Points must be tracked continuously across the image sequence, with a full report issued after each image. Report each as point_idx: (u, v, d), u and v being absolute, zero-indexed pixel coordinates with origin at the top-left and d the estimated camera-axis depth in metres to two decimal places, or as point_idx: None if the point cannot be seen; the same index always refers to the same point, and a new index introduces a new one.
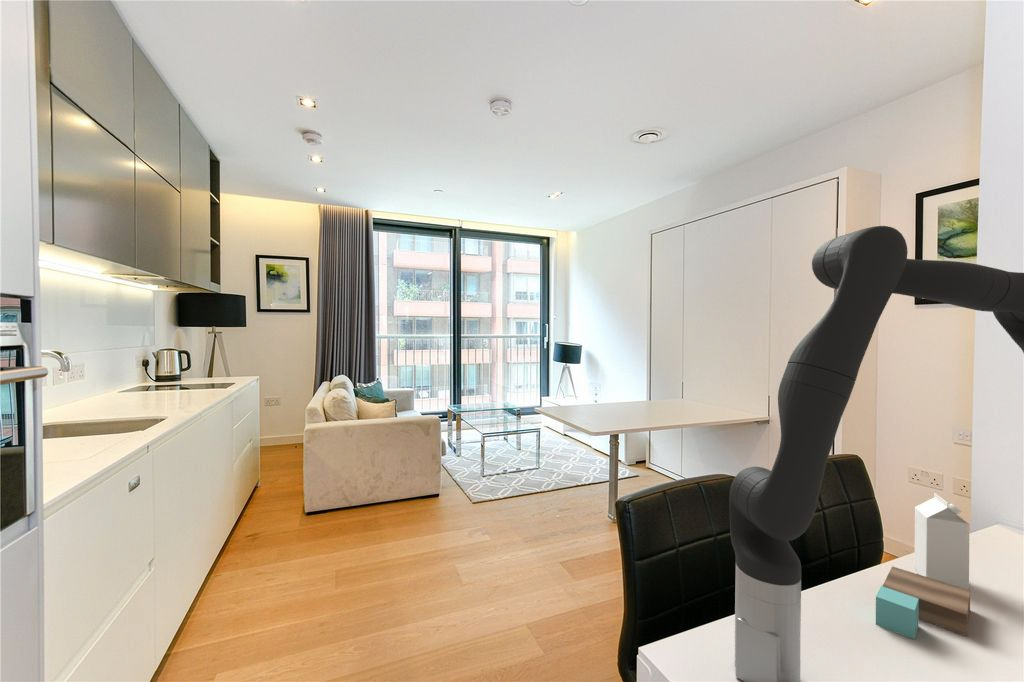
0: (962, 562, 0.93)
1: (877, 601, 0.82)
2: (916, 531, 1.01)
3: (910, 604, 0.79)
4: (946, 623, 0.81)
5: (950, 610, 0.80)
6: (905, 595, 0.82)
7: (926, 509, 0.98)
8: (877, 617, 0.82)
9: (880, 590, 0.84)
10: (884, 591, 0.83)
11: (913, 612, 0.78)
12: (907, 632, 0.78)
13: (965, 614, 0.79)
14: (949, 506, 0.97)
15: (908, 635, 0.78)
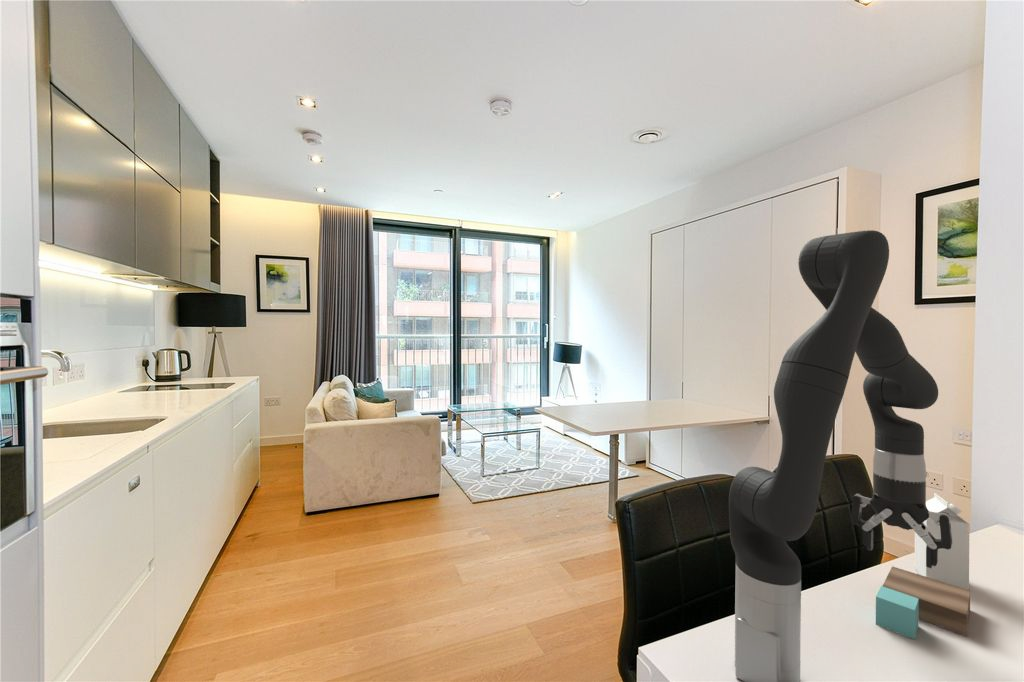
0: (963, 562, 0.93)
1: (877, 601, 0.82)
2: None
3: (910, 604, 0.79)
4: (946, 623, 0.81)
5: (950, 610, 0.80)
6: (905, 595, 0.82)
7: None
8: (877, 617, 0.82)
9: (880, 590, 0.84)
10: (884, 591, 0.83)
11: (913, 612, 0.78)
12: (907, 632, 0.78)
13: (965, 614, 0.79)
14: (949, 506, 0.97)
15: (908, 635, 0.78)
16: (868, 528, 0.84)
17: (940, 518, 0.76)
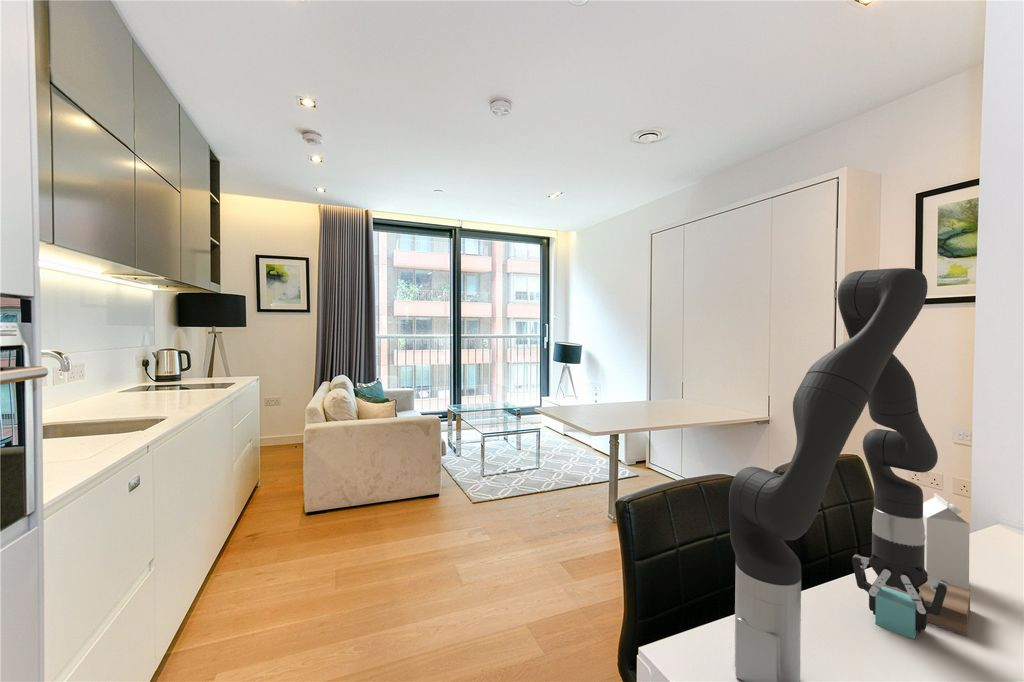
0: (963, 562, 0.93)
1: (877, 600, 0.82)
2: None
3: (909, 604, 0.79)
4: (946, 623, 0.81)
5: (950, 610, 0.80)
6: (905, 594, 0.82)
7: (926, 509, 0.98)
8: (877, 616, 0.82)
9: (880, 589, 0.84)
10: (884, 590, 0.83)
11: (913, 611, 0.78)
12: (907, 631, 0.78)
13: (965, 614, 0.79)
14: (949, 506, 0.96)
15: (908, 634, 0.78)
16: (875, 593, 0.83)
17: (938, 586, 0.76)
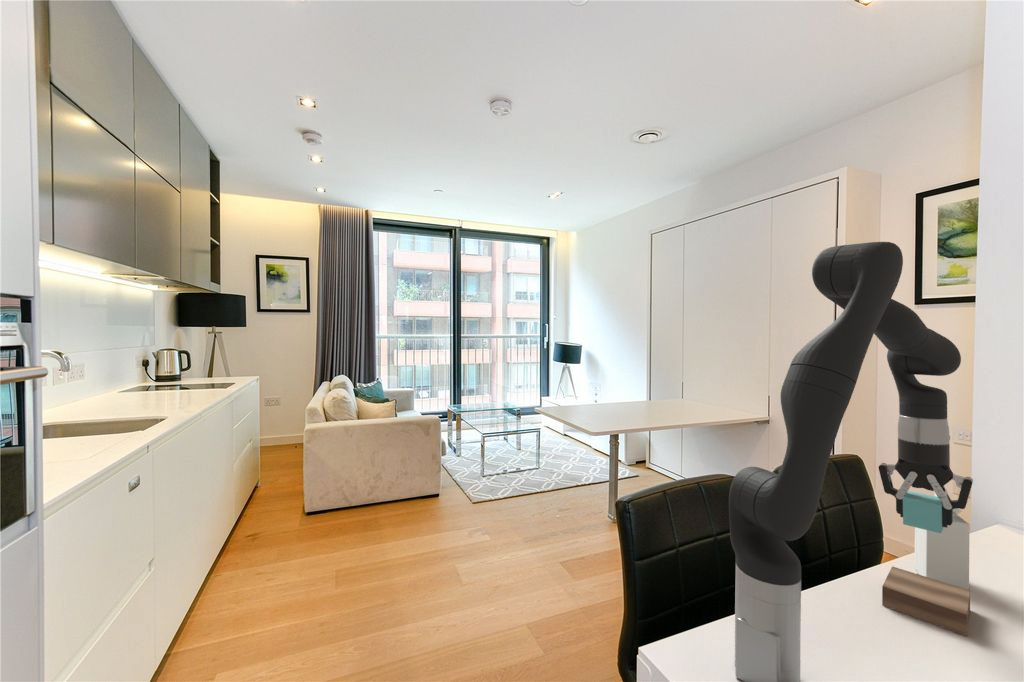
0: (963, 562, 0.93)
1: (904, 502, 0.86)
2: (916, 531, 1.01)
3: (936, 502, 0.83)
4: (946, 623, 0.81)
5: (950, 610, 0.80)
6: (931, 496, 0.86)
7: None
8: (904, 517, 0.86)
9: (906, 493, 0.88)
10: (910, 494, 0.88)
11: (939, 507, 0.82)
12: (934, 527, 0.83)
13: (965, 614, 0.79)
14: None
15: (935, 530, 0.82)
16: (902, 496, 0.87)
17: (964, 481, 0.80)
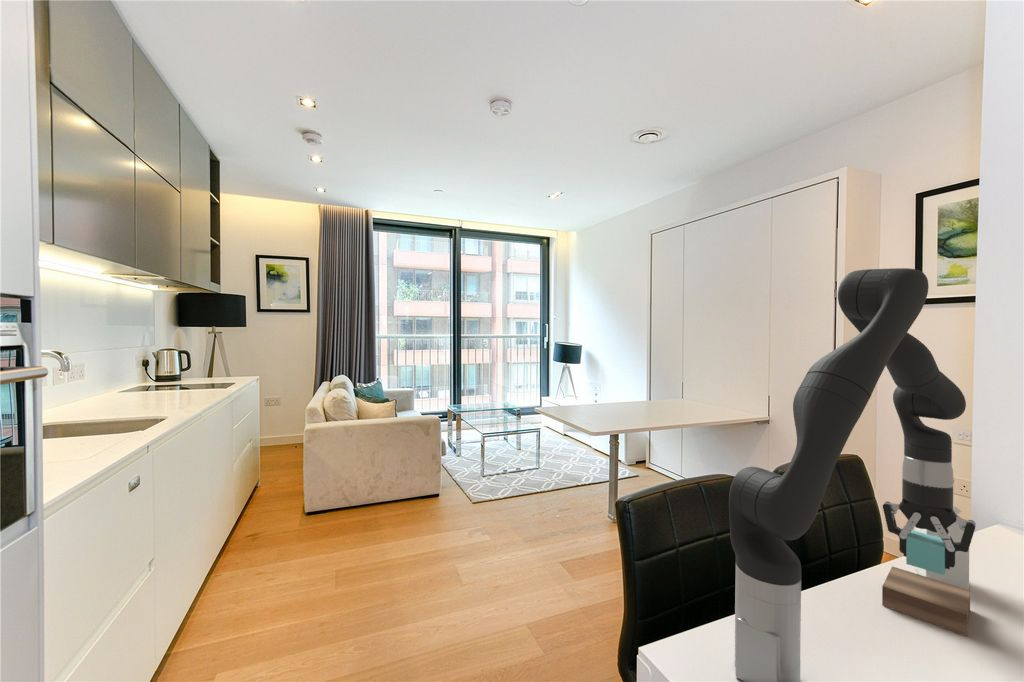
0: (963, 562, 0.93)
1: (908, 542, 0.87)
2: None
3: (939, 543, 0.85)
4: (946, 623, 0.81)
5: (950, 610, 0.80)
6: (934, 536, 0.88)
7: None
8: (908, 557, 0.87)
9: (910, 533, 0.89)
10: (914, 533, 0.89)
11: (943, 549, 0.83)
12: (937, 568, 0.84)
13: (965, 614, 0.79)
14: None
15: (938, 571, 0.84)
16: (905, 536, 0.89)
17: (967, 525, 0.82)
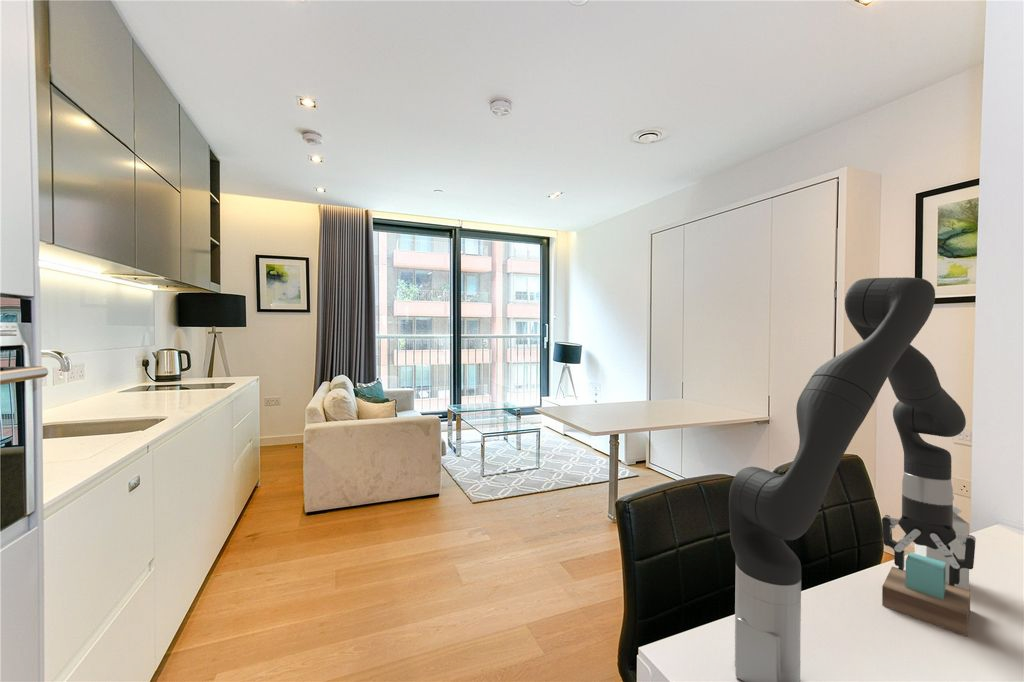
0: None
1: (907, 565, 0.87)
2: None
3: (938, 567, 0.85)
4: (946, 623, 0.81)
5: (950, 610, 0.80)
6: (933, 559, 0.88)
7: None
8: (907, 580, 0.87)
9: (909, 555, 0.89)
10: (913, 556, 0.89)
11: (942, 573, 0.83)
12: (936, 592, 0.84)
13: (965, 614, 0.79)
14: None
15: (937, 595, 0.84)
16: (900, 549, 0.89)
17: (967, 541, 0.82)
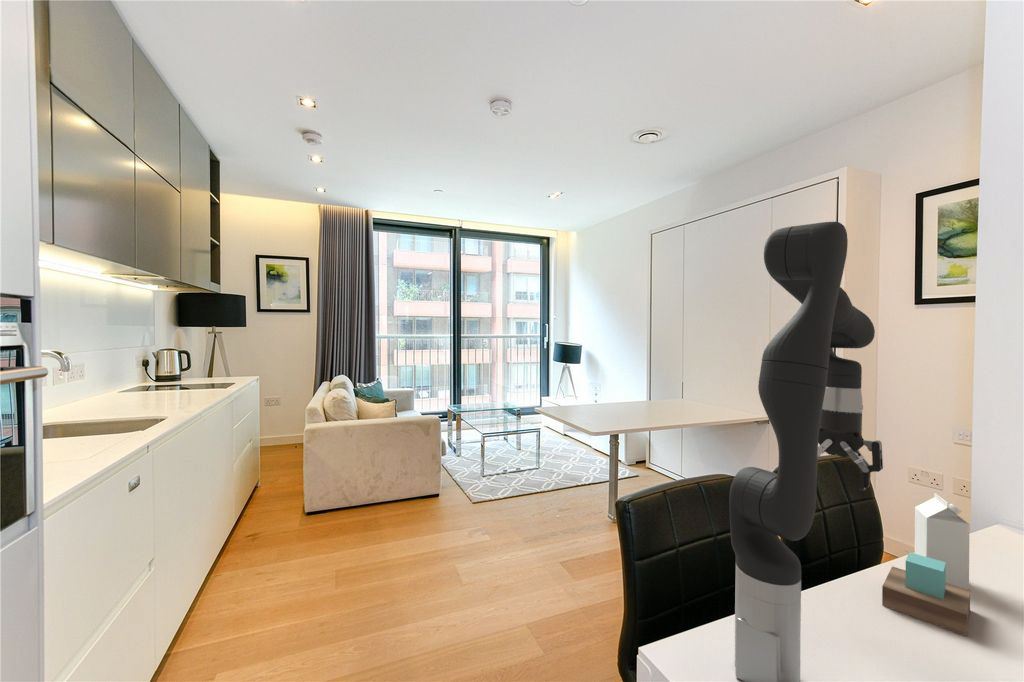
0: (963, 562, 0.93)
1: (907, 565, 0.87)
2: (916, 531, 1.01)
3: (938, 567, 0.85)
4: (946, 623, 0.81)
5: (950, 610, 0.80)
6: (933, 559, 0.88)
7: (926, 509, 0.98)
8: (907, 580, 0.87)
9: (909, 555, 0.89)
10: (913, 556, 0.89)
11: (942, 573, 0.83)
12: (936, 592, 0.84)
13: (965, 614, 0.79)
14: (949, 506, 0.97)
15: (937, 595, 0.84)
16: None
17: (872, 444, 0.85)
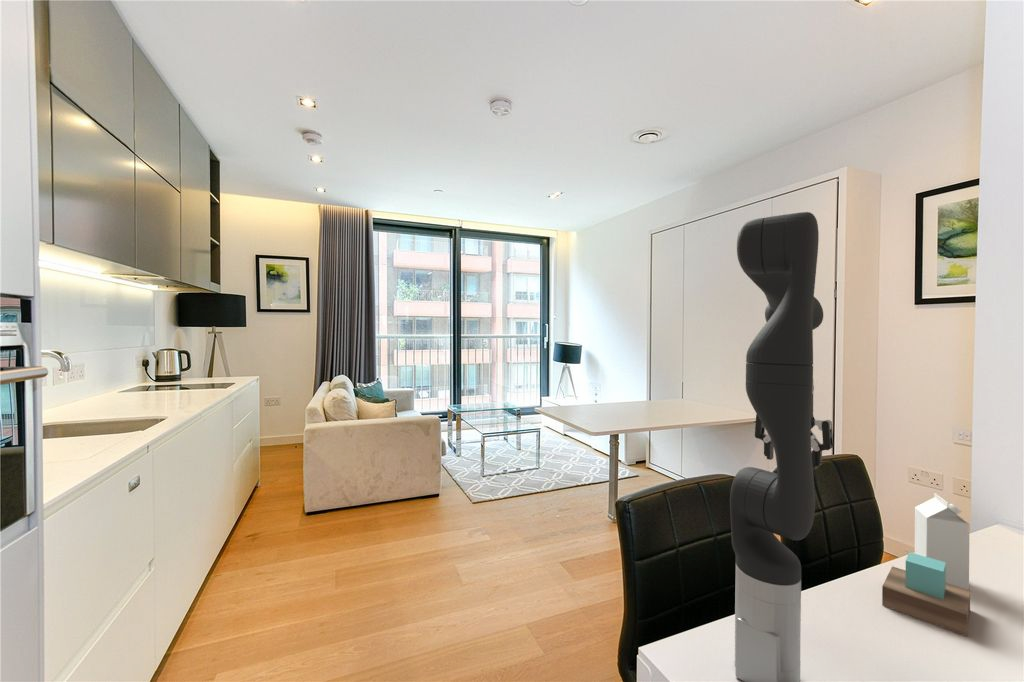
0: (963, 562, 0.93)
1: (907, 565, 0.87)
2: (916, 531, 1.01)
3: (938, 567, 0.85)
4: (946, 623, 0.81)
5: (950, 610, 0.80)
6: (933, 559, 0.88)
7: (926, 509, 0.98)
8: (907, 580, 0.87)
9: (909, 555, 0.89)
10: (913, 556, 0.89)
11: (942, 573, 0.83)
12: (936, 592, 0.84)
13: (965, 614, 0.79)
14: (949, 506, 0.96)
15: (937, 595, 0.84)
16: (768, 440, 0.95)
17: (822, 423, 0.87)
